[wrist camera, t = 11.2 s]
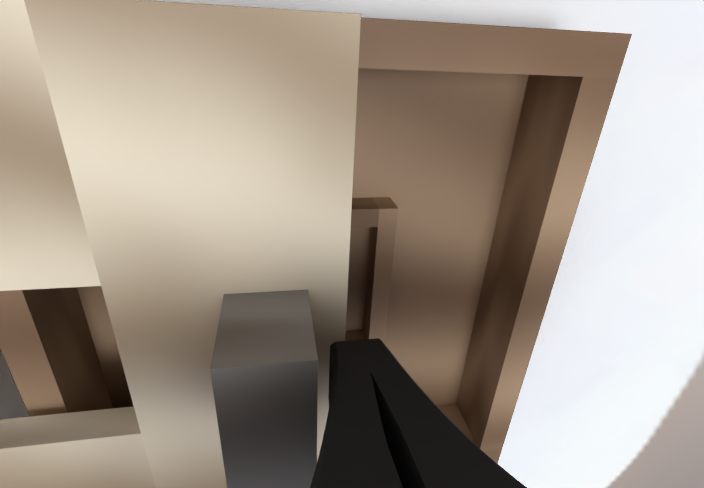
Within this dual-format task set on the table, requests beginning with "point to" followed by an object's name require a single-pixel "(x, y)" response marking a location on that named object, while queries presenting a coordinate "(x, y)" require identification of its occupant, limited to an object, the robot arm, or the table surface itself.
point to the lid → (182, 229)
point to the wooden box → (411, 220)
